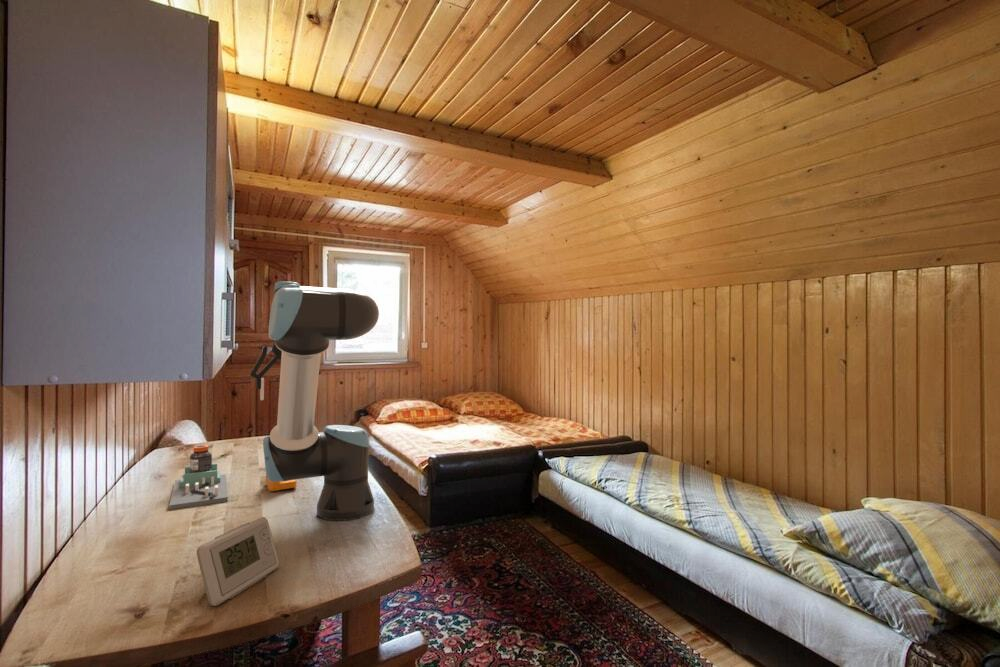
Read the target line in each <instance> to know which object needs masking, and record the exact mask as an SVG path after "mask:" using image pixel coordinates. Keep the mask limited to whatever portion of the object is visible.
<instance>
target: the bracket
mask: <svg viewBox="0 0 1000 667" xmlns="http://www.w3.org/2000/svg"><path fill="white" fill-rule="evenodd" d="M297 480H298V479H296V480H289V481H277V482H273V481H270V480H269V479H268V478H267V475H266V474H265V483H266V486H267V488H269V489H268V490H269V491H270V492H274V491H281V490H287V489H292V488H294V489H295V488H296V487H297Z"/></svg>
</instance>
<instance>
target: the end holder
mask: <svg viewBox="0 0 1000 667" xmlns="http://www.w3.org/2000/svg"><path fill="white" fill-rule="evenodd" d="M220 475H221V470H218V463H212V471H206V472H198V473H190V465H189V466H184V473H183V475H181V478H180V480H181V482H180V487H183V488H186V484H189V487H194V486H195V483H197V482H199V486H200V485H202V478H204V477H205V483H208V482H209V484H211V477H212V476H214V484H217V483H220Z"/></svg>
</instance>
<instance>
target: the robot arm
mask: <svg viewBox="0 0 1000 667" xmlns="http://www.w3.org/2000/svg"><path fill="white" fill-rule="evenodd" d="M273 295H274V296H273V299H272V302H271V308H270V314H269V321H268V338H269V339H270V340H273V345H272V346H271V347H270V346H265V345H263V346H262V348H261V354H260V355H259V357H258V358H257V360H256V363H255V364H254V366H253V367H252V370H251V371H250V373H249V376H250V377H252V378H255V380H256V384H255V385H256V389H257V390H259V391H260V392H259V397H260V398H259V399H260V401H264V399H265V397H264V396H265V378H264V377H263V376H264V375H265V374H266V373H268V371H269V370H270V369H271V368H272V367H273V366H274V364H275V363H276V362H277V361H280V372H279V373H280V376H279V390H278V403H277V404H278V406H277V421H276V425H274V427H273V428H272V429H271V430H270V434H269V435H268V436H265V437H263V439H262V446H263V448H262V449H263V456H264V457H263V458H264V466H265V476H266V475H267V478H268V479H269V480H270V481H273V482H277V481H289V480H302V479H308V478H309V479H311V478H317V477H324V478H323V487H322V489H321V492H320V494H319V497H318V500H317V503H316V515H317V517H319V518H321V519H323V520H327V521H347V520H354V519H358V518H362V517H364V516H367V515H369V514H371V513H373V511H374V509H375V498H374V495H373V493H372V490H371V487H370V486H371V485H370V483H369V447H370V443H369V441H370V440H369V433H368V432H367V430H366V429H364V428H362V427H359V426H354V425H348V424H347V425H344V424H332V425H330V424H329V425H326V426H325V428H324V429H323V431H322V432H319V430H318V428H317V427H316V426H315V425H314V423H315V415H316V405H317V404H316V403H317V398H318V397H317V395H318V387H319V378H320V377H319V376H320V375H321V373H322V372H321V370H320V369H321V368H320V366H321V358H322V357H321V356H322V354H323V353H324V352H326V351H327V350H328V349H329V347H330V346H329V345H330V341H341V340H343V341H345V340H346V341H347V340H353V339H357V338H360V337H363V336H364V335H366V334H368V333H369V332H370V331H372V330H373V328H375V327H376V325H377V323H378V320H379V314H380V313H379V307H378V304H377V303H376V301H375V300H374V299H373V298H372V297H370V296H369V295H366V294H363V293H360V292H357V291H354V290H353V289H350V288H345V287H341V288H339V287H322V286H321V287H320V286H306V285H301V284H300V283H298V282H296V281H287V280H283V281H277V282H275V283H274V291H273ZM271 351H272V353H273V355H274V356H272V358H271V359H270V360H269V361H268V363H267V364H266V365H264V366H263V368H262V369H261V370H260V371H259V369H260V367H261V365H262V363H263V362H264V359H266V356H267V355H268V354H270V352H271ZM258 371H259V372H258ZM257 372H258V373H257Z"/></svg>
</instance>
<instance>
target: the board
mask: <svg viewBox="0 0 1000 667" xmlns="http://www.w3.org/2000/svg"><path fill="white" fill-rule="evenodd" d="M180 482H181V479H177V480H175V482H174V485H173V489H172V493H171V496H170V501H169V504H168V510H171V511H172V510H176V509H183V508H184V509H185V508H190V507H196V506H205V505H210V504H212V505H213V504H218V503H225V502H228V496H229V495H228V486H227V485H228V484H227V474H226V473H224V474H220V483H217V484H214V476H212V477H211V484H209V485H207V486H205V487H203V488H201V489H199V482H197V483H195V486H194V487H189V484H186V488H183V487H180ZM202 484H205V477H204V478H202ZM194 488H195V490H200V491H205V495H203V494H197V493H191V490H192V489H194ZM208 492H212V493H213V499H211V500H210V496H209V495H208Z"/></svg>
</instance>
